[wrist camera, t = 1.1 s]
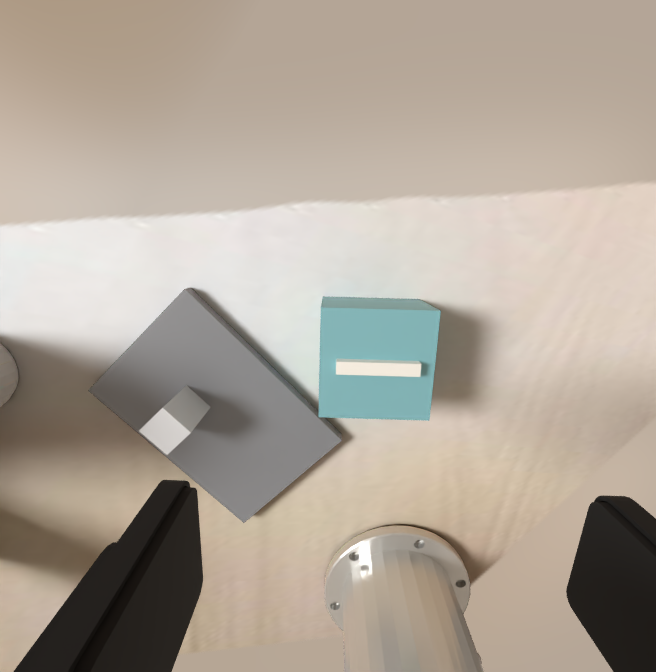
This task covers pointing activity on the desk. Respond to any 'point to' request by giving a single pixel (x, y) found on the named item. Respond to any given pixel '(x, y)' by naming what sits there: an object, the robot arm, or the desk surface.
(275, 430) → the board
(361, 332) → the teal box
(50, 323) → the desk surface
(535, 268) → the desk surface
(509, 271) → the desk surface
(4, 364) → the coffee cup
